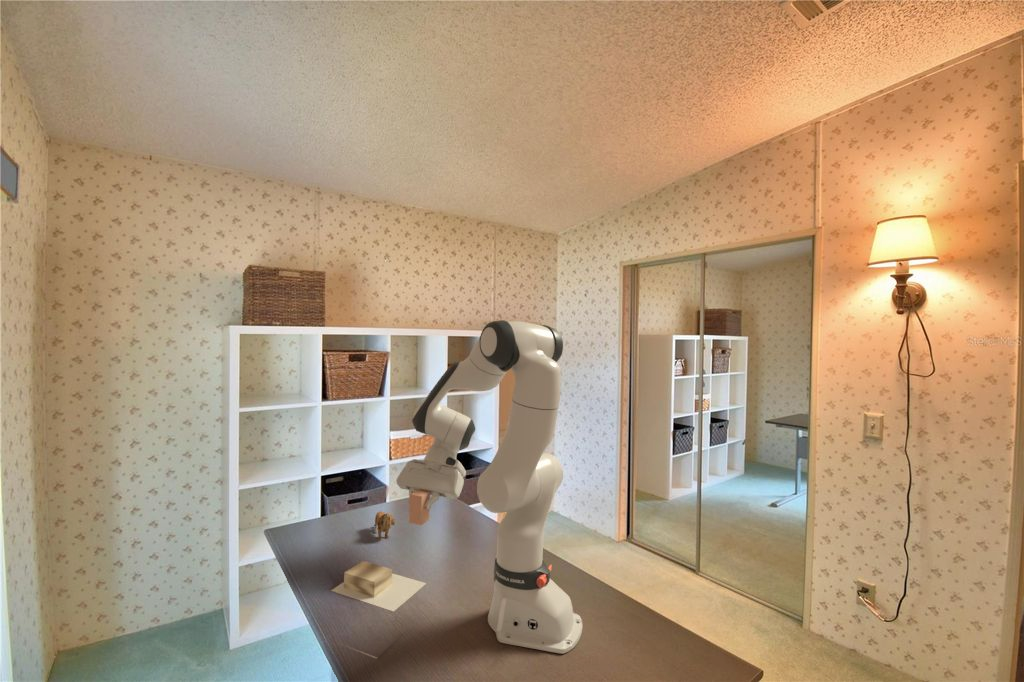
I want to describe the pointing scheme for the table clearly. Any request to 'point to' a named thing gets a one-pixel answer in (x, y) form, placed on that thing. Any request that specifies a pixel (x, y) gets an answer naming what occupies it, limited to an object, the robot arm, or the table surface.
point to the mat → (386, 593)
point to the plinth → (368, 578)
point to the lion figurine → (383, 524)
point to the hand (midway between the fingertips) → (418, 506)
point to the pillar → (418, 507)
